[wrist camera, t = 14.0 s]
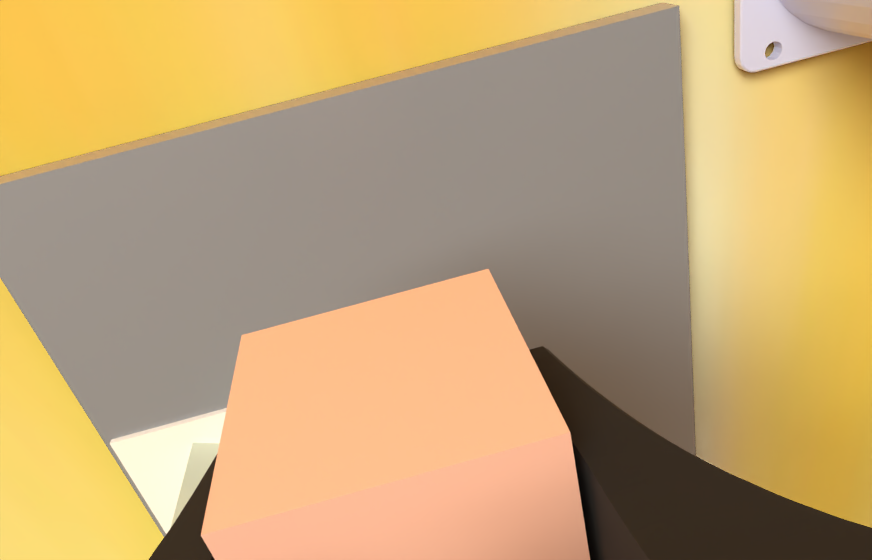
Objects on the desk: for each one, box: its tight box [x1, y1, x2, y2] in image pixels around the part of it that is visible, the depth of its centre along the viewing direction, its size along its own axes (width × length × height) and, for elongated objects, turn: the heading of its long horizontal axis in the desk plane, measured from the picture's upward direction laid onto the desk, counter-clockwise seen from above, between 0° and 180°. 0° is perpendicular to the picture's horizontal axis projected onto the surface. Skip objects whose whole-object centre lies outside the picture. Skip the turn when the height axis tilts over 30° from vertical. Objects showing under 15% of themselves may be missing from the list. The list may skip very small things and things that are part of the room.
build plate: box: [0, 3, 696, 537], centre depth 22 cm, size 20×19×1 cm
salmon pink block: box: [201, 269, 590, 560], centre depth 11 cm, size 5×5×4 cm
